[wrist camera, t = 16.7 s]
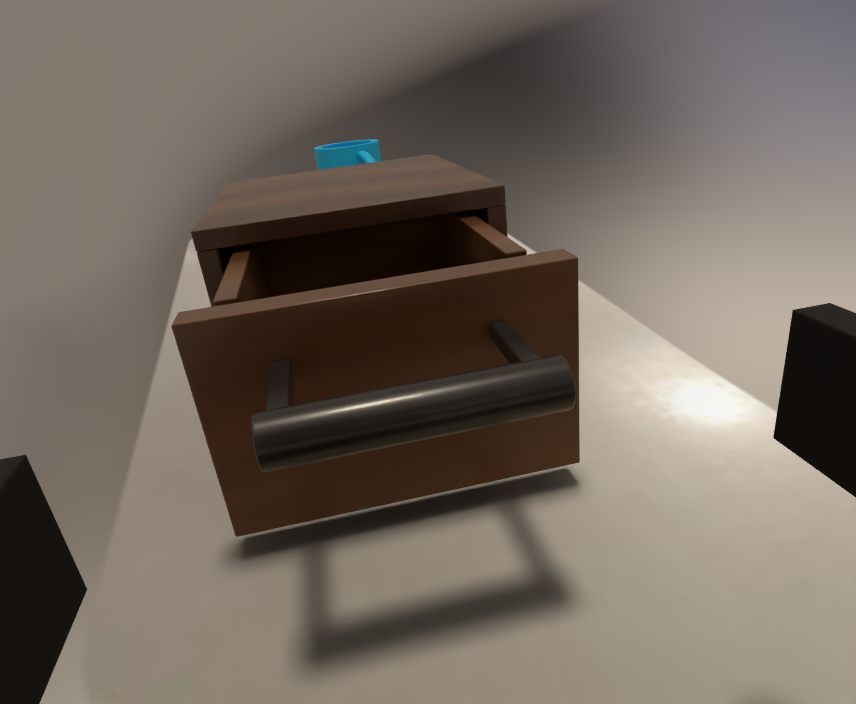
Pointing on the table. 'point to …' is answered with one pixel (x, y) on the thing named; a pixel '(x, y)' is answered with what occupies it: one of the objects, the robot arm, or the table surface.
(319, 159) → the mug
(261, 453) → the drawer
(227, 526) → the table surface
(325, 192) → the cabinet
